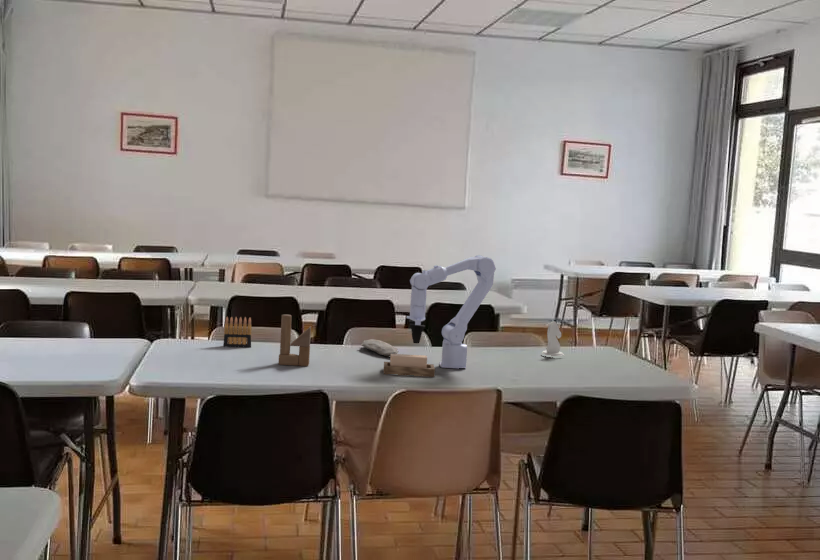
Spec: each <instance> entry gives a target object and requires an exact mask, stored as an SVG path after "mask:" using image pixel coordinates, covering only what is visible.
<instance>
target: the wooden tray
mask: <svg viewBox="0 0 820 560" xmlns="http://www.w3.org/2000/svg"><path fill="white" fill-rule="evenodd" d="M435 370H436V368H435V365H434V364H432V363H427V368H417V367H399V366H390V361H383V375H388V374H398V375H397V376H407V375H414V376H413V377H426V378H427V377H429V378H435V374H436V373H435V372H436V371H435Z"/></svg>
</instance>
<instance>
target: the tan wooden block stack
mask: <svg viewBox="0 0 820 560" xmlns="http://www.w3.org/2000/svg"><path fill="white" fill-rule="evenodd" d="M280 322H281V323H280V345H279V346H280V347H279V354H278V362H277V363H278V365H280V366H281V365H282V366H295V367H296V366H297V367H298V366H299V367H309V365H310V357H311V356H310V352H311V351H310V350H311V334H312V333H311V331H312V330H311V329H312V326H311V325H309V327H308V328H307V329H305V330H304V331H303V332H302V333H300V335H299V336H297V338H296V339H294V340H293V341H292V342H291V339H292V337H291V336H292V315H291V314H281V321H280ZM291 347H299V349H298V354H296V353H291Z"/></svg>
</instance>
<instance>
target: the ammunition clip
mask: <svg viewBox="0 0 820 560" xmlns="http://www.w3.org/2000/svg"><path fill="white" fill-rule="evenodd" d="M233 319H234V320H233ZM238 320H239V321H238ZM223 330H224V333H223V345H222V346H223V348H245V349H246V348H250V349H251V348H252V317H249V318H248V322H247V317H246V316H244V318H243V319H242V316H240V317H239V319H238V318H237V316H235V317H234V318H233V316H231V317H230V320H229V317H228V316H226V318H225V322H224V329H223Z"/></svg>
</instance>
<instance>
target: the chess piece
mask: <svg viewBox="0 0 820 560" xmlns="http://www.w3.org/2000/svg"><path fill="white" fill-rule="evenodd" d="M546 331H547V334H546V335H547V336H546V337H547V347H545V350H542V352H541V353H542V354H545V355H551V356H562V355H564V356H565V354H564V352H562V351H560V350H561V344H560V342H559V340H558V339H561V338H562V332H561V330H560V328H559V325H558V324H557V321H556V320H555V321H554V320H553V321H551V322H549V324H548V327H547V330H546Z"/></svg>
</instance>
